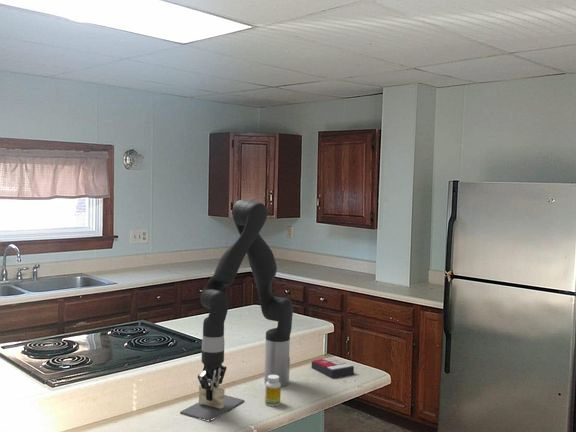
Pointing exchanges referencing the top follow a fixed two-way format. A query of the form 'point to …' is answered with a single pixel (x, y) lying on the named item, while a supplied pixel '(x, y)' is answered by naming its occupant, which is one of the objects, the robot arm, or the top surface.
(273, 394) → the supplement bottle
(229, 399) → the mat
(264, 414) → the top surface
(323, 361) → the red and black box
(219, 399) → the wooden block
